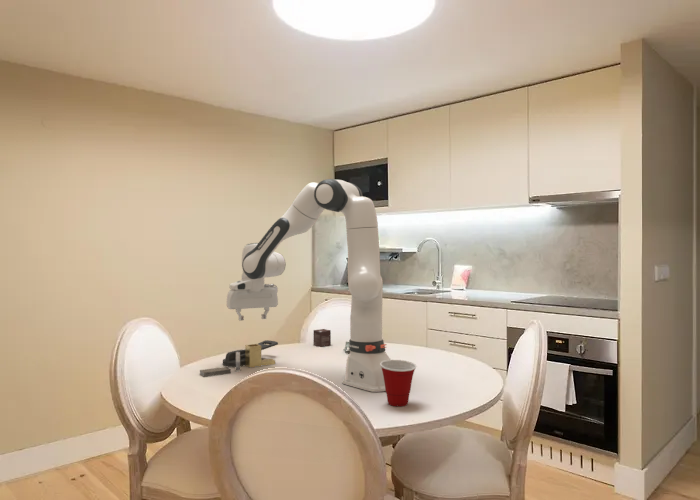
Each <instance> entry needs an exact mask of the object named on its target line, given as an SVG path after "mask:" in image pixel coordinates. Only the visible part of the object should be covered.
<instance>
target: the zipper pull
mask: <svg viewBox="0 0 700 500" xmlns="http://www.w3.org/2000/svg"><path fill="white" fill-rule="evenodd" d="M257 344H258V345H261V351H264V350H267V349H270V348H273V347H276V346H277V345H279V342H278V341H275V340H263V341H261V342H259V343H257ZM236 352H240V366H241V367H244V366H243V365H245V348H244V349H237V350H232V351H228V352H227V353H226V354H225V358H223V359H222V366H223V367H226V366H228V368H236ZM245 366H246V365H245Z"/></svg>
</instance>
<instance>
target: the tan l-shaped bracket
mask: <svg viewBox="0 0 700 500" xmlns="http://www.w3.org/2000/svg"><path fill="white" fill-rule="evenodd" d="M244 349H245V366H246V367H248V368H249V367H251V368H256V367H255V366H259V367H262V366H261V365H265V366H270V365H276V359H273V358H267V359H265V358H264V359H262V350H261V345H258V343H254V344H253V343H252V344H245V346H244Z"/></svg>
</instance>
